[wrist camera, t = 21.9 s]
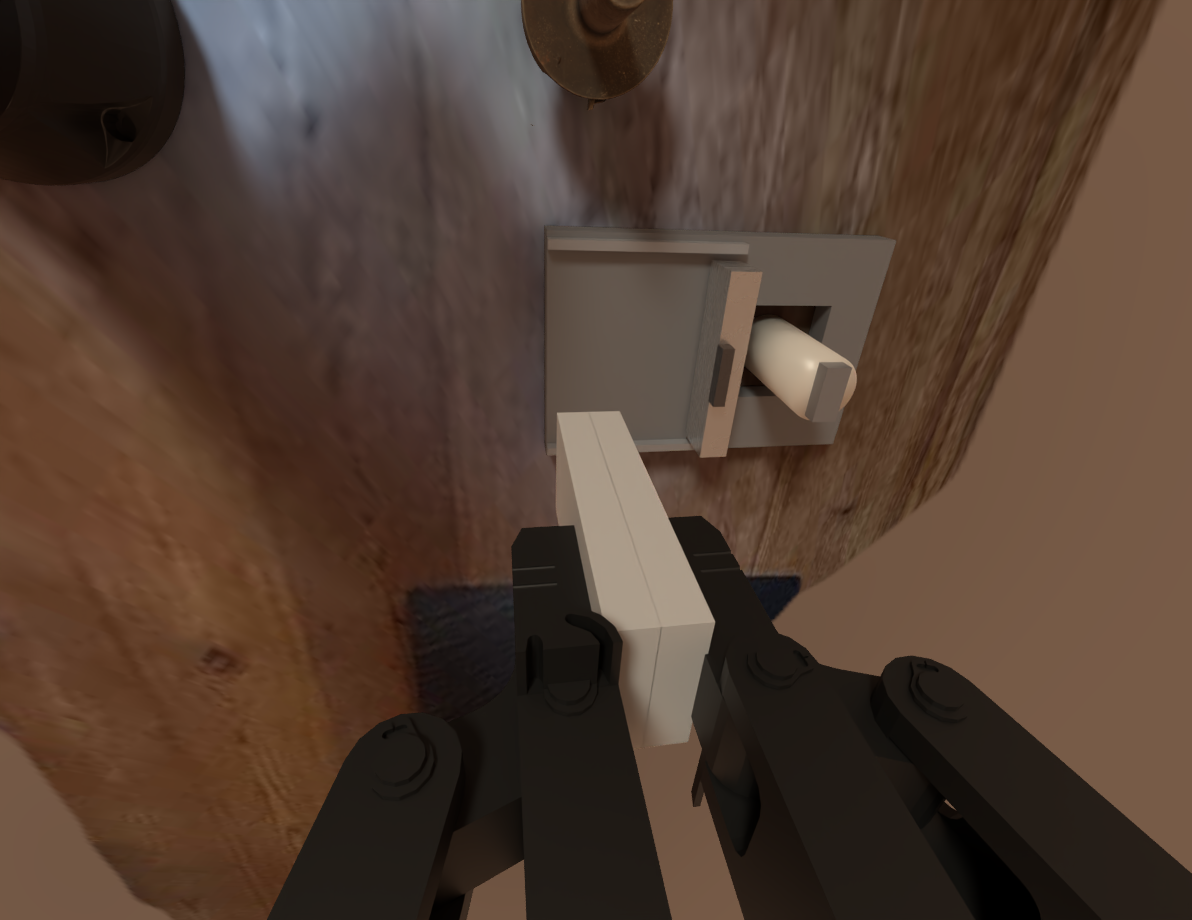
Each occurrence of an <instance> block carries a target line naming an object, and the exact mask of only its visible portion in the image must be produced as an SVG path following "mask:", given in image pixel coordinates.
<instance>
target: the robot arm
mask: <svg viewBox="0 0 1192 920" xmlns="http://www.w3.org/2000/svg"><path fill="white" fill-rule="evenodd" d="M184 81H185V68H184V55H183V47H182V41H181V36H180V31H179V27H178V23H177V19H176V16H175V13H174V10H173V6H172V4H171V1H170V0H0V178H2V179H6V180H11V181H15V182H22V183H29V184H37V185H75V184H84V183H93V182H100V181H106V180H110V179H114V178H117V177H120V176H123V175H126V174H128V173H130V172H132V171H134V170H136V169H138V168H139V167H141V166H143V165H144V164H145V163H147V162H148V161H149V160H150V159H151V158H153V157H154V156H155V155H156V154H157V153H158V152H159V150H160V149H161V148H162V147H163V146H164V144H165V143H166V141H167V140H168V138H169V137H170V135H171V133H172V131H173V129H174V127H175V124H176V122H177V120H178V116H179V113H180V110H181V105H182V100H183V93H184ZM556 512H557V519H558V525H559V526H551V527H534V528H522V529H521V531H520V533H519V534H518V536H517V538H516V540H515V541H514V543H513V545H512V572H513V598H514V623H515V649H516V652H515V653H516V659H515V668H514V671H513V673H512V676H511V678H510V681H509V682H508V684H507V685H506V686H505V688H504V689H503V690H502V692H501V693H500V694H499V695H498V696H496V697H495V698H494V699H493V700H492V701H491V702H489V703H488V704H486V705H484V706H483V707H481V708H479V709H477V710H475V711H473V712H471V713H469V714H466V715H464V716H462V717H459V718H457V719H455V720H452V721H450V722H448V723H446V722H445V721H444V720H443V719H442V718H439V717H436V716H432V715H429V714H426V713H411V714H401V715H398V716H396V717H393V718H391V719H388V720H386V721H383V722H381V723H379V724H378V725H376V726H375V727H374V728H373V729H371V730H370V731H369V732H368V733H366V734H365V735H364V736H363V737H361V738H360V739H359V740H358V742H357V743H356V745H355V746H354V747H353V749H352V750H351V752H350V753H349V755H348V756H347V758H346V759H345V761H344V763H343V765H342V767H341V769H340V771H339V773H338V775H337V777H336V779H335V781H334V783H333V785H332V787H331V789H330V791H329V793H328V796H327V798H326V800H325V802H324V804H323V806H322V808H321V810H320V812H319V814H318V816H317V818H316V820H315V822H314V824H313V826H312V828H311V830H310V832H309V834H308V837H307V839H306V841H305V843H304V845H303V847H302V849H301V851H300V853H299V855H298V857H297V859H296V861H295V863H294V865H293V867H292V869H291V871H290V873H289V876H288V878H287V880H286V882H285V884H284V886H283V888H282V890H281V892H280V894H279V896H278V898H277V900H276V902H275V904H274V906H273V908H272V910H271V912H270V914H269V917H268V919H267V920H466V919H467V915H468V910H469V906H470V902H471V897H472V893H473V889H474V888H475V887H477V886H479V885H480V884H482V883H484V882H485V881H487V880H489V879H491V878H492V877H494V876H496V875H498V874H499V873H501V872H503V871H505V870H506V869H508V868H510V867H511V866H513V865H515V864H517V863H518V862H520V861H522V860H524V869H525V893H526V917H527V920H672V918H671V914H670V909H669V905H668V900H667V896H666V892H665V887H664V883H663V878H662V874H661V869H660V865H659V861H658V856H657V852H656V847H655V844H654V839H653V834H652V830H651V825H650V821H649V817H648V812H647V808H646V804H645V799H644V795H643V791H642V786H641V782H640V777H639V773H638V768H637V764H636V760H635V756H634V751H633V749H638V748H645V747H653V746H661V745H668V744H676V743H684V742H688V739H689V735H690V730H691V726H692V722H693V724H694V727H695V729H696V732H697V735H698V738H699V741H700V744H701V747H702V752H701V756H700V759H699V763H698V767H697V771H696V775H695V779H694V783H693V787H692V791H691V792H692V800H693V807H696V806H700V804H701V800H702V797H703V793H705V796H706V799H707V803H708V806H709V809H710V812H711V815H712V818H713V822H714V825H715V828H716V831H717V834H718V837H719V841H720V844H721V847H722V850H723V853H724V856H725V860H726V863H727V866H728V869H729V872H730V875H731V879H732V881H733V885H734V888H735V891H736V894H737V898H738V900H739V904H740V907H741V910H742V913H743V916H744V920H1192V873H1190V872H1189V871H1188V870H1187V869H1185V868H1184V867H1183V866H1182V865H1181V864H1180V863H1179V862H1178V861H1177V860H1175V859H1174V858H1173V857H1172V856H1171V855H1170V854H1168V853H1167V852H1166V851H1165V850H1164V849H1163V848H1162V847H1160V846H1159V845H1158V844H1157V843H1156V842H1155V841H1153V840H1152V839H1151V838H1150V837H1149V836H1148V835H1147V834H1145V833H1144V832H1143V831H1142V830H1141V829H1140V828H1139V827H1137V826H1136V825H1135V824H1134V823H1133V822H1132V821H1130V820H1129V819H1128V818H1127V817H1126V816H1125V815H1124V814H1122V813H1121V812H1120V811H1119V810H1118V809H1117V808H1115V807H1114V806H1113V805H1112V804H1111V803H1110V802H1109V801H1107V800H1106V799H1105V798H1104V797H1103V796H1101V795H1100V794H1099V793H1098V792H1097V791H1096V790H1095V789H1093V788H1092V787H1091V786H1090V785H1089V784H1088V783H1087V782H1085V781H1084V780H1083V779H1082V778H1081V777H1080V776H1078V775H1077V774H1076V773H1075V772H1074V771H1073V770H1072V769H1071V768H1069V767H1068V766H1067V765H1066V764H1065V763H1064V762H1062V761H1061V760H1060V759H1059V758H1058V757H1057V756H1056V755H1054V754H1053V753H1052V752H1051V751H1050V750H1049V749H1047V748H1046V747H1045V746H1044V745H1043V744H1042V743H1041V742H1039V741H1038V740H1037V739H1036V738H1035V737H1034V736H1032V735H1031V734H1030V733H1029V732H1028V731H1027V730H1026V729H1024V728H1023V727H1022V726H1021V725H1020V724H1019V723H1017V722H1016V721H1015V720H1014V719H1013V718H1012V717H1011V716H1009V715H1008V714H1007V713H1006V712H1005V711H1004V710H1002V709H1001V708H1000V707H999V706H998V705H997V704H996V703H994V702H993V701H992V700H991V699H990V698H989V697H987V696H986V695H985V694H984V693H983V692H982V691H980V690H979V689H978V688H977V687H976V686H975V685H974V684H973V683H971V682H970V681H969V680H967V679H966V678H965V677H963V676H962V675H960V674H959V673H957V672H956V671H954V670H953V669H952V668H950V667H948V666H945V665H943V664H941V663H938V662H936V661H934V660H931V659H927V658H922V657H916V656H905V657H899V658H895V659H894V660H893V661H891V662H890V663H889V664H887V665H886V666H885V668H884V670H883V672H882V674H881V676H874V675H869V674H863V673H858V672H852V671H847V670H841V669H836V668H832V667H829V666H825V665H821V664H819V663H818V662H817V661H816V660H815V658H814V657H813V656H812V655H811V654H810V653H809V651H808V650H807V649H806V648H805V647H803V646H801V645H800V644H799V643H797V642H796V641H794V640H793V639H791V638H790V637H787V636H784V635H781V634H779V633H778V632H777V630H776V629H775V627H774V625H773V624H772V622H771V620H770V618H769V617H768V615H767V613H766V611H765V610H764V608H763V606H762V604H761V603H760V601H759V599H758V597H757V596H756V594H755V592H754V590H753V589H752V587H751V585H750V583H749V582H748V580H747V578H746V576H745V575H744V573H743V571H742V570H740V566H739V564H738V562H737V560H736V559H735V557H734V555H733V554H731V550H730V548H729V546H728V545H727V543H726V541H725V539H724V538H723V536H722V534H721V532H720V531H719V530H718V529H716V528H715V527H714V526H713V525H711V524H710V523H709V522H708V521H706V520H705V519H704V518H703V517H702V516H691V517H674V518H668V517H667V514H666V512H665V510H664V508H663V506H662V503H661V501H660V499H659V497H658V495H657V492H656V490H655V488H654V486H653V484H652V481H651V479H650V477H649V475H648V472H647V470H646V468H645V466H644V464H643V461H642V459H641V457H640V455H639V453H638V450H637V448H636V446H635V444H634V442H633V439H632V437H631V435H630V433H629V431H628V428H627V426H626V424H625V422H624V420H623V417H622V415H621V413H620V411H605V412H566V413H557V448H556ZM945 800H947V801H948V802H949V803H950V804H951V805H952V806H953V807H954V808H955V809H956V810H957V811H956V810H954V809H953V808H951V807H950V806H949V805H947V804H946V803H945V802H944V801H945Z"/></svg>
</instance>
